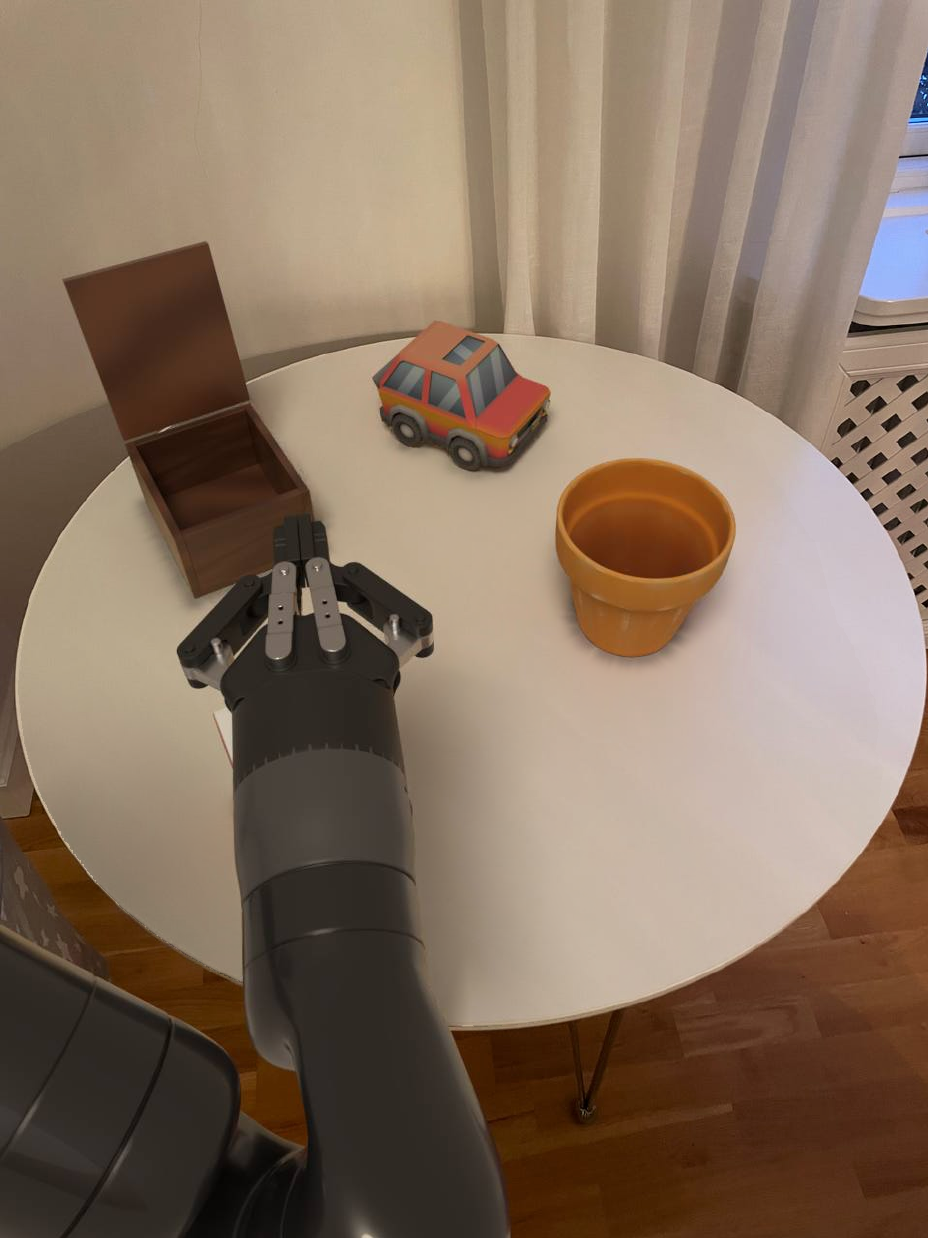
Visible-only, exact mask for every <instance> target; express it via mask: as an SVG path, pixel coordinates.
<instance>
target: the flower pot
mask: <svg viewBox="0 0 928 1238" xmlns="http://www.w3.org/2000/svg"><path fill="white" fill-rule="evenodd" d="M554 532H555V533H554V535H555V538H554V541H555V552H556V556H557V559H558V560H557V561H558V562H559V565H560V567H561V568H562V570H563V571H564V573H565V575H566V576H567V577H568V578H569V583H570V584H569V585H570V588H571V594H572V600H573V604H574V608H575V614H576V619H577V622H578V626H579V628H580V630H581V632H582V633H583V635H584V636H585V637H586V638H587V639H588V640H589V641H590V642H591V643H592V644H593V645H595V646H596V648H599V649H601V650H602V651H604V652H606V653H610V654H612V655H616V656H619V657H628V658H630V657H631V658H632V657H633V658H634V657H635V658H636V657H643V656H648V655H651V654H653V653H656V652H657V651H659V650H661V649H663V648H664V647H665V646H666V645H667V644H668V643H670V641H671V640H672V638H673V637H674V636H675V634H676V633H677V631H678V630H679V628H680V627H681V626H682V624H683V622H684V621H685V619H686V617H687V616H688V614H689V612H690V611H691V610H692V609H693V606H694V605H695V604H696V602H697V601H698V600H700V599H701V598H703V597H704V596H705V595H707V594H708V593H709V592H710V591H711V590H712V589H713V588H715V586H716V585H717V583H719V581H720V579H721V577H722V576H723V573H724V572H725V569H726V566H727V564H728V561H729V558H730V555H731V552H732V550H733V546H734V542H735V539H736V534H737V533H736V532H737V524H736V518H735V515H734V512H733V509H732V507H731V505H730V503H729V502H728V500H727V498H726V497H725V495H724V494H723V493H722V492H721V491H720V490H719V489H718V488H717V486H715V485H714V484H713V483H712V482H711V481H709V480H708V479H706V478H705V477H704V476H703V475H700V474H699V473H697V472H695V471H693V470H691V469H690V468H687V467H684V466H681V465H679V464H676V463H672V462H670V461H665V460H660V459H653V458H642V457H634V458H633V457H631V458H619V459H615V460H614V459H613V460H609V461H606V462H601V463H599V464H597V465H594V466H592V467H589V468H588V469H586V470H584V471H582V472H581V473H580V474H578V475H577V476H576V477H574V478H573V479H572V480H571V481H569V484H567V485H566V486H565V488H564V490H563V491H562V493H561V495H560V497H559V500H558V502H557V506H556V517H555V531H554Z"/></svg>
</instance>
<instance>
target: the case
mask: <svg viewBox="0 0 928 1238" xmlns="http://www.w3.org/2000/svg"><path fill="white" fill-rule="evenodd" d="M124 446H125V449H126V451H127V454H128V457H129V459H130V462H131V465H132V468H133V471H134V473H135V476H136V479H137V482H138V485H139V487H140V490H141V493H142V496H143V498H144V501H145V504H146V506H147V508H148V510H149V512H150V514H151V515H152V518H153V520H154V522H155V524H156V526H157V527H158V529H159V532H160V534H161V535H162V537H163V540H164V541H165V544H166V545H167V548H168V550H169V552H170V554H171V555H172V557H173V559H174V561H175V563H176V565H177V567H178V569H179V571H180V573H181V574H182V577H183V579H184V581H185V583H186V585H187V587H188V589H189V591H190V593H191V595H192V597H193V598H194V599H198V598H201V597H203V596H206V595H209V594H211V593H213V592H216V591H219V590H221V589H223V588H226V587H229V586H232V585H235V584H236V583H237V582H238V581H239V580H240V579H241V578H242V577H244V576H246V575H256V576H258V575H259V574H261V573H265V572H267V571H270V570H273V568H274V549H273V531H274V529H275V527H276V526H282V525H284V516H288V515H296V514H297V517H298V514H304V513H311V517H312V522H314V521H316V520H315V513H314V509H313V508H314V507H313V502H312V498H311V491H310V489H309V488H308V486H307V484H306V482H304V479H302V477H301V475H300V474H299V473H298V471H297V470H296V469H295V466H294V465H293V464H292V462H291V460H290V459H289V458H288V456H287V455H286V454H285V452H284V450H283V449H282V447H281V446H280V444H279V443H278V442H277V440H276V439H275V437H274V436H273V434H272V432H270V430H269V428H268V427H267V426H266V423H265V422H264V421H263V420H262V417H261V416H260V415H259V413H258V412H257V411H256V409H255V408H254V406H253V404H252V403H251V402H247V403H245V404H242V405H238V406H235V407H233V408H229V409H227V410H224V411H221V412H218V413H214V414H211V415H209V416H208V415H207V416H206V417H202V418H199V419H195V420H193V421H190V422H187V423H184V424H181V425H178V426H175V427H171V428H168V429H165V430H163V431H159V432H157V433H153V434H151V435H147V436H144V437H141V438H138V439H135V440H132V441H128V442H125V443H124Z"/></svg>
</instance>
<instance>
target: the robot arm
mask: <svg viewBox="0 0 928 1238" xmlns="http://www.w3.org/2000/svg"><path fill="white" fill-rule="evenodd" d="M327 535H328V534H327V529H326V526H325V524H324V522H323V521H322V520H315V521H314V522H312V517H311V513H304V514H298V517H297V514H296V515H288V516H284V525H282V526H276V527H275V529H274V531H273V549H274V568H272V569H271V571H270V572H269V573H268V574H267V575H266V574H265V575H264V576H261V577H260V576H259V575H246V576H244V577H242V578H241V579H240V580H239V581H238V582H236V583H234V584H233V586H232V587H231V589H229V590H228V591H227V593H225V595H224V596H223V597H222V598H221V599H220V600H219V601H218V602H217V603H216V604H215V606H213V608H212V609H211V610H210V611H209V612H208V613H207V614H206V615H205V616H204V617H203V618H202V619H201V621H200V622H199V623H197V625H196V626H195V627H194V628H193V629H192V630H191V631H190V632H189V633H188V634H187V636H186V637H185V638H184V639H183V640H182V641H181V642H180V643H179V644H178V646H177V648H176V655H177V658H178V660H179V665H180V667H181V669H182V672H183V674H184V676H185V677H186V680H187V683H188V685H189V687H191V688H193V689H196V690H201V689H204V688H206V687H208V686H209V687H211V688H213V689H215V690H217V691H219V692H220V694H221V696H222V697H223V698H224V700H223V701H224V704H225V707H227V708H228V710H229V711H230V712H231V713H232V753H233V769H232V806H233V807H232V814H233V815H232V817H233V821H232V823H233V853H234V854H233V856H234V865H235V874H236V879H237V883H238V889H239V896H240V905H241V907H240V909H241V911H240V913H241V917H240V918H241V919H240V920H241V962H242V963H241V964H242V968H241V969H242V972H241V973H242V991H243V992H242V993H243V1006H244V1017H245V1025H246V1031H247V1034H248V1038H249V1040H250V1042H251V1045H252V1046H253V1048H254V1051H255V1052H256V1053H257V1054H258V1055H259V1056H260V1057H261V1058H262V1059H263V1060H264V1061H265V1062H266V1063H269V1064H270V1065H271V1066H275V1067H276V1068H279V1069H283V1070H286V1071H290V1072H293V1073H294V1072H295V1075H296V1079H297V1084H298V1088H299V1093H300V1097H301V1102H302V1106H303V1111H304V1117H305V1122H306V1123H305V1124H306V1130H307V1146H306V1145H303V1144H299V1143H296V1142H293V1141H291V1140H287V1139H285V1138H283V1137H281V1136H279V1135H277V1134H275V1133H274V1132H272V1131H271V1130H269V1129H267V1128H266V1127H265V1126H263V1125H262V1124H260V1123H259V1122H258V1121H256V1120H255V1119H254V1118H252V1117H250V1116H249V1115H248V1114H247V1113H245V1111H243V1110H241V1106H242V1084H241V1077H240V1074H239V1069H238V1067H237V1065H236V1063H235V1062H234V1060H233V1059H232V1057H231V1055H230V1054H229V1053H228V1052H227V1051H226V1049H224V1048H223V1047H222V1046H221V1045H220V1044H219V1043H218V1042H216V1041H215V1040H213V1038H211V1037H209V1036H208V1035H206V1034H205V1033H204V1032H202V1031H200V1030H199V1029H197V1028H196V1027H194V1026H192V1025H190V1024H189V1023H187V1022H185V1021H183V1020H181V1019H179V1018H177V1017H176V1016H173V1015H171V1014H168V1013H167V1012H166V1011H164V1010H163V1009H160V1008H159V1007H156V1006H155V1005H152V1004H151V1003H149V1002H147V1001H145V1000H143V999H142V998H139V997H138V996H136V995H134V994H132V993H130V992H128V991H126V990H124V989H122V988H120V987H118V986H116V985H115V984H114V983H111V982H109V981H107V980H105V979H103V978H101V977H99V976H98V975H94V974H93V973H92V972H90V971H88V970H86V969H84V968H83V967H80V966H79V965H76V964H74V963H72V962H70V961H68V960H67V959H64V958H63V957H60V956H59V955H57V954H54V952H51V951H49V950H47V949H46V948H44V947H41V946H39V945H38V944H37V943H34V942H32V941H31V940H29V939H27V938H26V937H24V936H22V935H20V934H18V933H17V932H15V931H14V930H12V929H10V928H8V927H7V926H5V925H3V924H1V923H0V1238H511V1212H510V1211H511V1210H510V1201H509V1193H508V1186H507V1181H506V1176H505V1171H504V1167H503V1164H502V1163H503V1162H502V1161H501V1160H502V1159H501V1156H500V1153H499V1150H498V1147H497V1145H496V1141H495V1138H494V1136H493V1132H492V1130H491V1127H490V1125H489V1122H488V1120H487V1118H486V1115H485V1113H484V1110H483V1107H482V1105H481V1103H480V1099H479V1098H478V1095H477V1092H476V1090H475V1088H474V1084H473V1083H472V1080H471V1078H470V1075H469V1073H468V1070H467V1068H466V1066H465V1064H464V1060H463V1058H462V1056H461V1053H460V1050H459V1048H458V1046H457V1043H456V1040H455V1038H454V1036H453V1034H452V1030H451V1029H450V1026H449V1024H448V1022H447V1020H446V1018H445V1015H444V1014H443V1011H442V1009H441V1007H440V1005H439V1002H438V1001H437V998H436V996H435V993H434V991H433V989H432V986H431V983H430V979H429V968H428V958H427V957H428V956H427V950H426V944H425V936H424V928H423V922H422V917H421V916H422V915H421V910H420V909H421V908H420V902H419V901H420V900H419V895H418V888H417V880H416V837H415V836H416V835H415V829H414V820H413V806H412V802H411V798H410V794H409V787H408V781H407V773H406V768H405V760H404V754H403V747H402V740H401V735H400V727H399V720H398V715H397V707H396V700H395V696H396V692H397V690H398V688H399V686H400V684H401V681H402V674H401V670H400V669H401V668H403V667H404V665H405V664H407V663H408V662H409V661H411V659H413V658H414V657H416V658H419V659H425V658H428V657H430V656H432V655H433V654H434V652H435V637H434V618H433V617H434V616H433V614H432V613H431V612H430V611H429V610H427V609H426V608H425V607H424V606H422V605H421V604H419V603H418V602H416V601H415V600H413V599H412V598H410V596H408V595H406V594H405V593H403V592H402V591H400V590H399V589H398V588H396V586H393V585H392V584H391V583H390V582H388V581H386V579H384V578H383V577H381V576H380V575H378V574H377V573H375V571H372V570H371V569H369V568H368V567H367V566H365V565H363V564H362V563H360V562H358V561H351V562H348V563H346V564H344V565H343V566H339V565H337V564H334V563H333V562H332V561H331V555H330V548H329V541H328V536H327ZM306 588H307V589H308V588H309V593H310V599H311V603H312V604H311V605H312V609H313V612H310V613H308V614H303V602H304V601H303V589H306ZM338 602H339V603H346V606H347V607H348V608H349V609H350V610H352V611H353V612H354V613H355V614H357V615H358V616H360V617H361V618H362V619H364V620H365V621H366V622H368V623H369V624H370V625H372V626H373V627H375V628H376V629H377V630H379V631H380V632H381V633H382V634H383V639H384V641H383V640H381V639H380V638H379V637H377V636H376V635H375V634H374V633H373V632H371V631H370V629H367V627H365V626H364V625H363V624H362V623H360V622H359V621H358V620H357V619H355V618H354V617H353V616H351V615H349V614H346V613H343V612H340V607H339V603H338ZM265 621H267V623H266V624H264V623H265ZM263 624H264V625H263ZM262 625H263V626H262ZM247 642H248V643H247ZM246 643H247V644H246ZM244 645H245V647H244ZM242 648H243V649H242ZM241 649H242V650H241ZM240 650H241V651H240ZM238 652H240V653H239V654H238ZM237 654H238V655H237ZM236 655H237V656H236ZM235 656H236V657H235Z"/></svg>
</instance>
